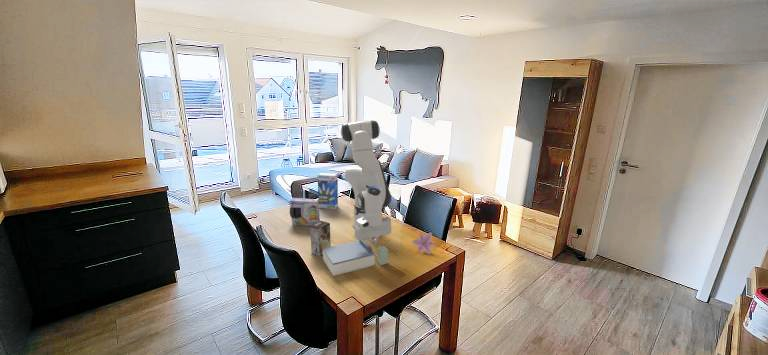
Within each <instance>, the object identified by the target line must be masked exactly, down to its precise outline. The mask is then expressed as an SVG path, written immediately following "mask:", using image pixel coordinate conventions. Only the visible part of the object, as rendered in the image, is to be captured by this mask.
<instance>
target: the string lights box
mask: <svg viewBox="0 0 768 355" xmlns="http://www.w3.org/2000/svg"><path fill="white" fill-rule="evenodd" d="M338 176H339V175H338V173H332V172H320V173H318V174H317V191H318V192H317V195H318V197H317V198H318V199H317V200H319V209H329V210H336V209H337V208H338V207H339V202H338V201H339V198H338V197H339V195H338V194H339V193H338V191H339V189H338V188H339V186H338V182H339V181H338Z"/></svg>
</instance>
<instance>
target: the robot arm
mask: <svg viewBox="0 0 768 355" xmlns="http://www.w3.org/2000/svg"><path fill="white" fill-rule="evenodd" d="M380 128H381V127H380V124H378V121H376V120H359V121H353V122H352V121H351V122H345V123H343V124H342V125H341V128H340V136H341V138H342V140H343V141H345V142H347V143H351V151H352V159H353V160H352V161H354V163H355V165H354V166H348V167H347V168H346V170H345V171H344V178H345V180H346V181H347V182H348V183H349V184H350V186H351V188H352V190H353V194H354V205H353V206H354V207H353V209H354V210H353V212H354V216H353V217H354V218H353V222H352V227H353V228H354V238H355V239H356V241H359V240H367V239H368V240H369V243H370V245H371V246H372V245H377V242H378V239H379V237H382V236H384V235H389V234H391V233H392V219H391V217H389V216H386V217H384V216H383V211H382V209H383V208H387V207H388V206H390V204H391V202H392V195H391V192H390V190H389V189H390V188H389V186H388V183H387V179H386V176H385V172H384V168H383V166H382V163H381V160H379V159H377V156H375V155H376V154H375V152H374V148H373V147H374V146H373V142H372V140H375V139H378V137H379V136H380V131H381V129H380ZM367 186H368V187H371V188H367ZM375 187H378V188H375ZM373 238H374V239H373Z"/></svg>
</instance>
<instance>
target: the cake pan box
mask: <svg viewBox="0 0 768 355" xmlns="http://www.w3.org/2000/svg"><path fill="white" fill-rule="evenodd" d="M289 206H290V208H289V216H290V217H291V224H292V225H293V226H305V227H306V226H307V227H310V226H311V225H313V224H315V223H317V222H320V221H321V216H320V215H321V214H320V208H319V200H318V199H311V198H303V197H302V198H301V197H300V198H299V197H292V198H291V199H290V200H289Z"/></svg>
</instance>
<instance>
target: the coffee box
mask: <svg viewBox="0 0 768 355" xmlns="http://www.w3.org/2000/svg"><path fill="white" fill-rule="evenodd" d="M309 231H310V232H309V233H310V247H311V248H310V250H311V251H310V252H311V254H314V255H316V256H319V257H321V255H322V256H323V248H328V247H332V245H331V224H330V222H327V221H324V220H320V222H317V223H315V224H313V225H311V226H309Z"/></svg>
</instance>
